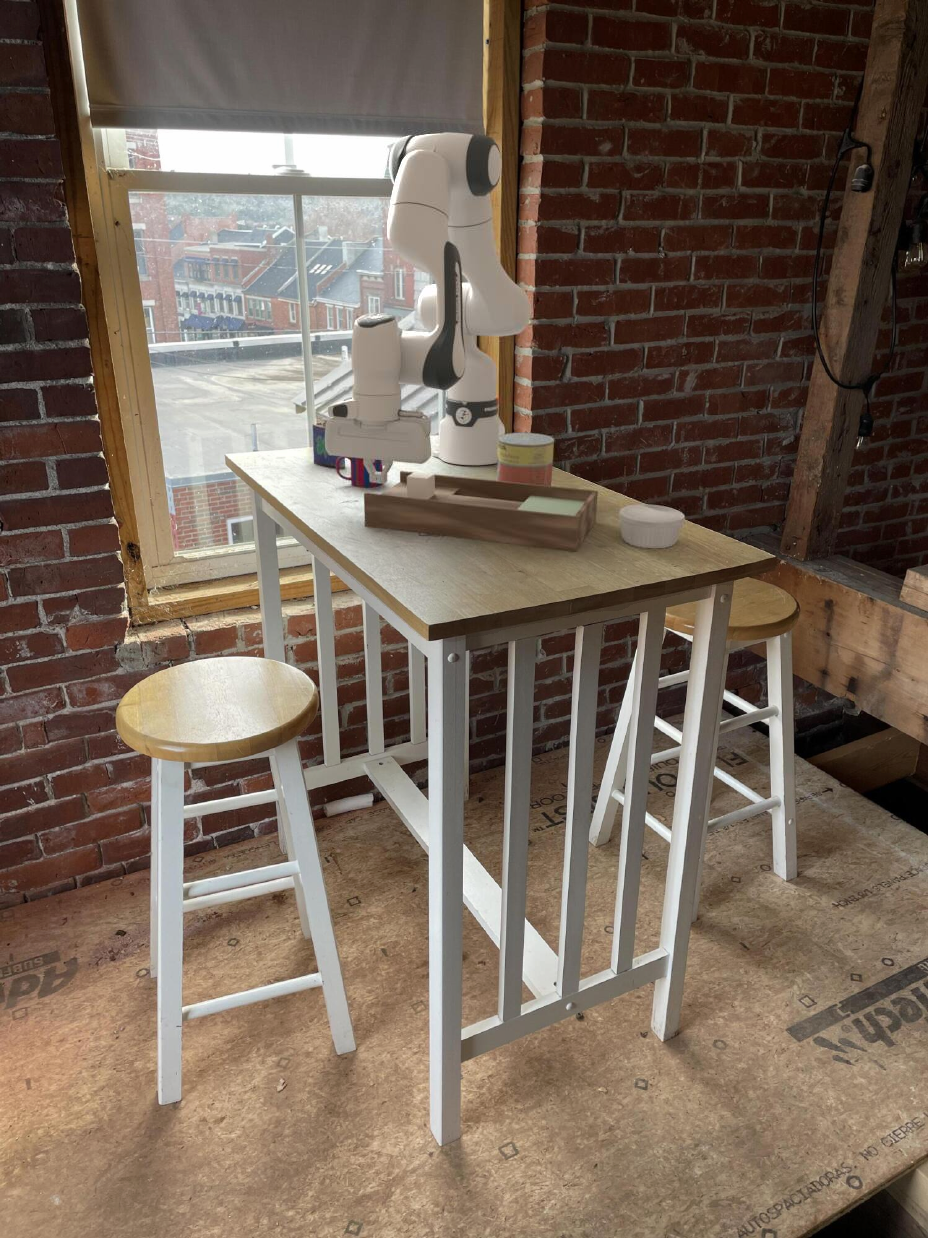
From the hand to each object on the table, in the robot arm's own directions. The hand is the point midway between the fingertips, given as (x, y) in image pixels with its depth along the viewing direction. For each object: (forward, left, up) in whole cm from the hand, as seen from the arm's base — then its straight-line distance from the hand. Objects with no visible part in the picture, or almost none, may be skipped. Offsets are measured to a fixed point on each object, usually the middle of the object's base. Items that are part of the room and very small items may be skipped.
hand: (378, 482), depth 171 cm
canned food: (-21, +23, -6) cm, 31 cm away
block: (0, +9, -2) cm, 9 cm away
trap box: (0, +21, -6) cm, 21 cm away
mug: (-18, -12, -6) cm, 22 cm away
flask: (-30, -25, -6) cm, 39 cm away
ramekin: (-2, +51, -6) cm, 51 cm away
